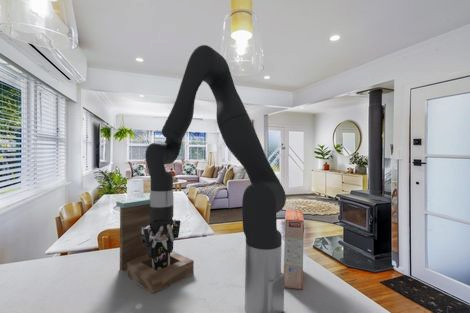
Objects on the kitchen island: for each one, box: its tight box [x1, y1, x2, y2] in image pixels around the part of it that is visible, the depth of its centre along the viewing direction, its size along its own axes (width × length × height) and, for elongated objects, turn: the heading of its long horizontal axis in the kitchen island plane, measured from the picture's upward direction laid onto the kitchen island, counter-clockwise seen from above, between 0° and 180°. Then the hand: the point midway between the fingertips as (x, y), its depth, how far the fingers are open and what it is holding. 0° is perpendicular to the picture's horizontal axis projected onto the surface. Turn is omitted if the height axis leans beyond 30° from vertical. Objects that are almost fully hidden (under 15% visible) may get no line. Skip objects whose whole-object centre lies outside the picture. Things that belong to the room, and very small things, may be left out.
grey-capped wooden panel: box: [115, 196, 156, 272], centre depth 87 cm, size 5×16×24 cm, turn 141°
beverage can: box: [152, 235, 170, 271], centre depth 79 cm, size 6×6×12 cm
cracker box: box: [283, 209, 305, 290], centre depth 79 cm, size 14×6×21 cm, turn 167°
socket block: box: [126, 250, 195, 294], centre depth 79 cm, size 15×15×4 cm
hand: (161, 254), depth 79 cm, fingers closed on beverage can, 5 cm apart
